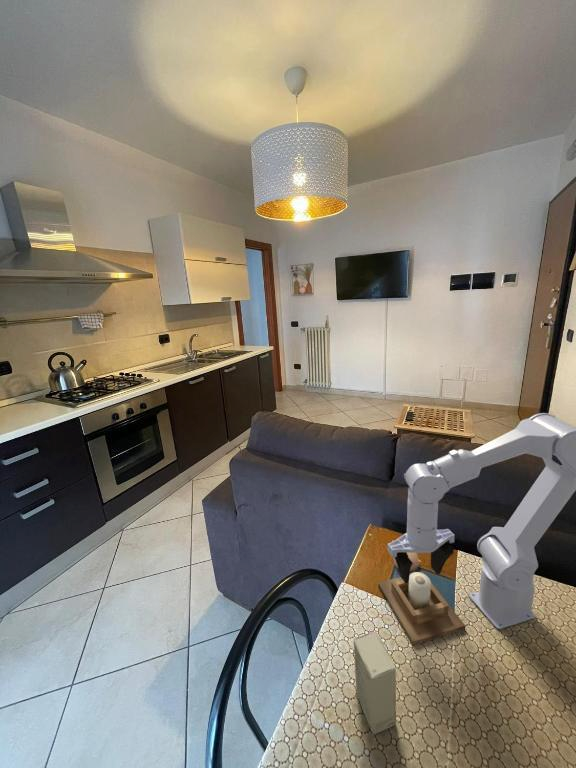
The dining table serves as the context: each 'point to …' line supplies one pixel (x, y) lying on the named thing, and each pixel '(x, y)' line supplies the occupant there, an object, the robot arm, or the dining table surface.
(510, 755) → the dining table surface
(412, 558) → the tan oval ball
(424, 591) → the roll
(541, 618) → the dining table surface
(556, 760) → the dining table surface
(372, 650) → the skincare box
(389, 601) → the caddy
